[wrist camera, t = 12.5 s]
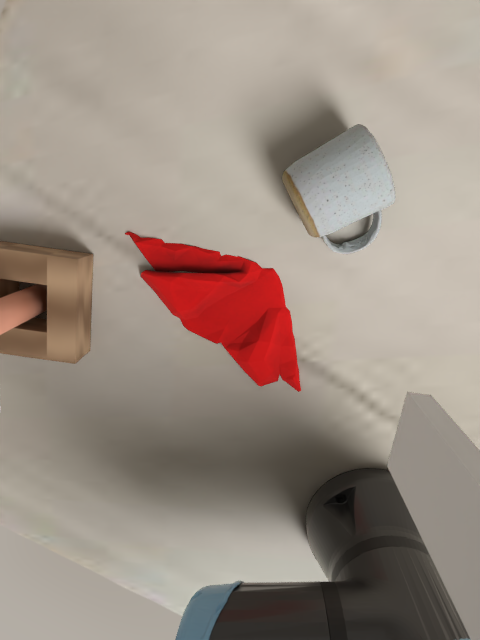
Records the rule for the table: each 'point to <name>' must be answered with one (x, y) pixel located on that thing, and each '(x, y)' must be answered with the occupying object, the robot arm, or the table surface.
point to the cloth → (226, 305)
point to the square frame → (49, 301)
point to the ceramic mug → (341, 187)
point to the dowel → (22, 306)
